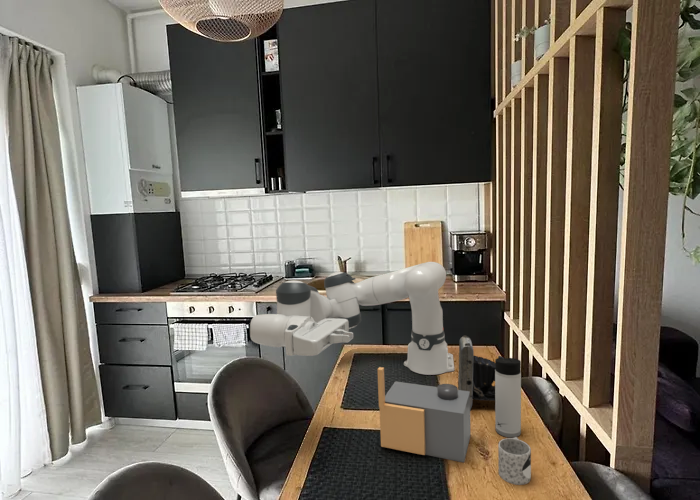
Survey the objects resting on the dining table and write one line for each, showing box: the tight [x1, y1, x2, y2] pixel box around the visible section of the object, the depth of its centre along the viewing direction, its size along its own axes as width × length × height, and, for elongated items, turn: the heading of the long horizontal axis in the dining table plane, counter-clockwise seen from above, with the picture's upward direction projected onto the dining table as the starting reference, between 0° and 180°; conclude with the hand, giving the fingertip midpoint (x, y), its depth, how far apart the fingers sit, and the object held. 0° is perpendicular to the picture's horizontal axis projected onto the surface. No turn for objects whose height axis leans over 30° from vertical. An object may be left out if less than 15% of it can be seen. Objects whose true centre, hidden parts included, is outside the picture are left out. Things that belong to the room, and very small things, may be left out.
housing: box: [385, 381, 471, 463], centre depth 104 cm, size 12×20×14 cm, turn 67°
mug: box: [497, 436, 532, 486], centre depth 92 cm, size 10×7×7 cm, turn 155°
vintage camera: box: [457, 335, 504, 409], centre depth 122 cm, size 10×16×20 cm, turn 79°
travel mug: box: [494, 357, 522, 438], centre depth 106 cm, size 6×7×20 cm
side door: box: [376, 366, 426, 456], centre depth 99 cm, size 2×11×20 cm, turn 67°
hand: (351, 337), depth 102 cm, fingers closed
